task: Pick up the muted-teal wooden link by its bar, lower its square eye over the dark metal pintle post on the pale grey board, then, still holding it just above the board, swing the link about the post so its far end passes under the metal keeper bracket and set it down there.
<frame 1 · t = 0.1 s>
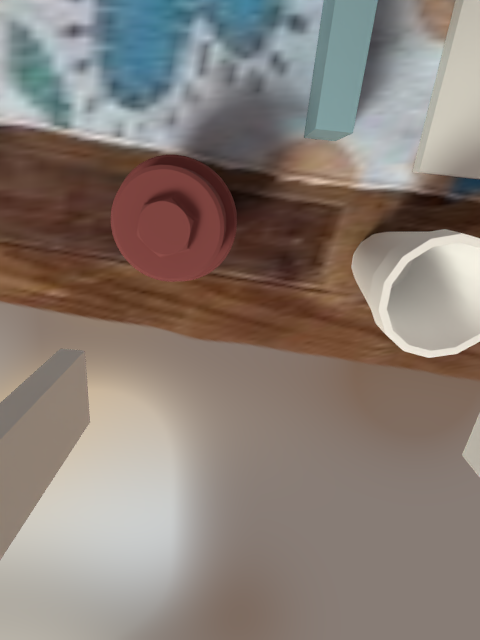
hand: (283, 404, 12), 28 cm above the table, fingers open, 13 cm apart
link: (319, 139, 34), on the table
foam cup: (380, 261, 38), on the table
mechanical component: (190, 213, 37), on the table
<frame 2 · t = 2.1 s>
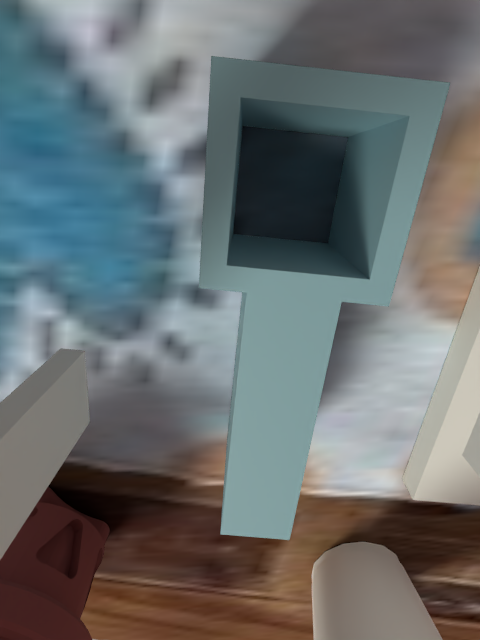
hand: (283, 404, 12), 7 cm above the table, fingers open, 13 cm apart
link: (252, 440, 21), on the table
foam cup: (355, 568, 25), on the table
mechanical component: (62, 516, 24), on the table
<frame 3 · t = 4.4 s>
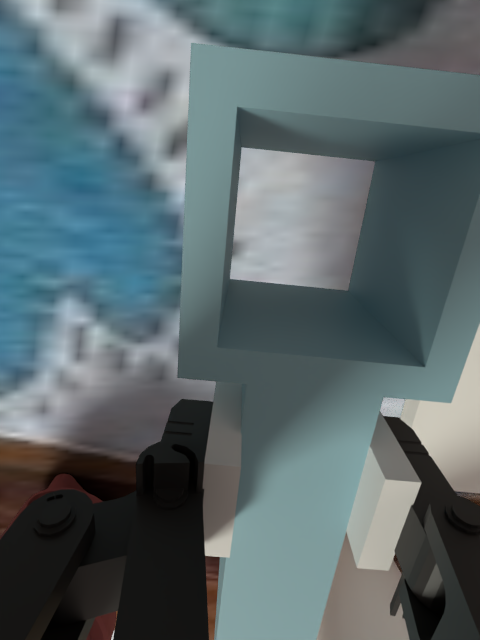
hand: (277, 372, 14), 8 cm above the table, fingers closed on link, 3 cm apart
link: (253, 520, 17), point 7 cm above the table, touching gripper
foam cup: (346, 556, 28), on the table
mechanical component: (82, 504, 27), on the table
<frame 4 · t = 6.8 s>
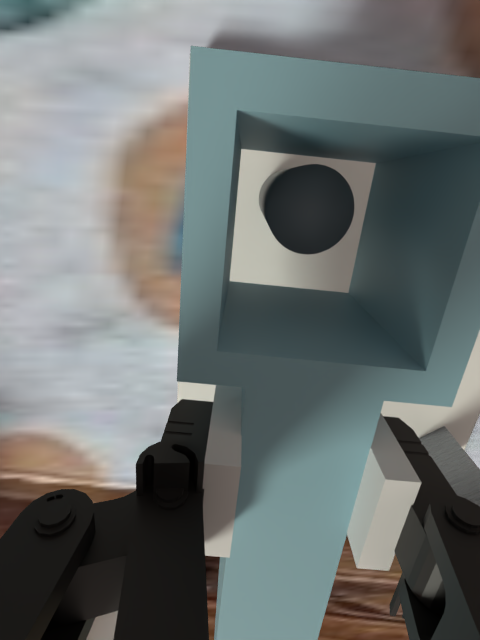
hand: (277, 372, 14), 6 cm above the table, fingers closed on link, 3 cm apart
board: (337, 327, 20), on the table
keeper: (409, 406, 22), resting on board
link: (253, 522, 17), point 6 cm above the table, touching gripper
foam cup: (163, 558, 27), on the table
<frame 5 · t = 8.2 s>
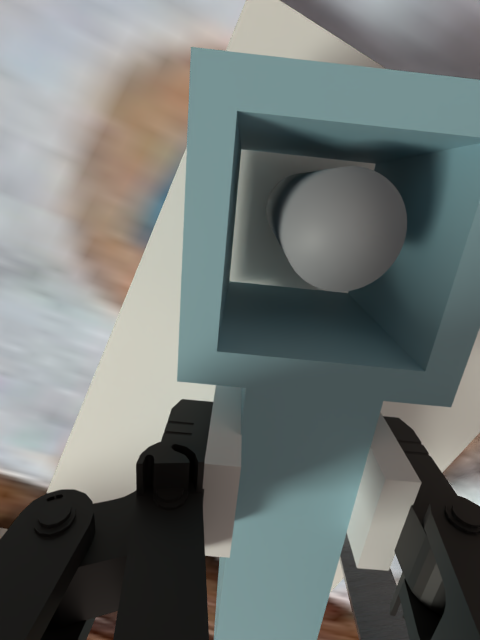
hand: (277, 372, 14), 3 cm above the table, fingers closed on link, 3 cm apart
board: (298, 371, 17), on the table
keeper: (339, 477, 20), resting on board
link: (253, 522, 17), point 3 cm above the table, touching gripper
when the fingers open (3 cm above the table, at t = 9.3 s): link stays where it is, resting on board.
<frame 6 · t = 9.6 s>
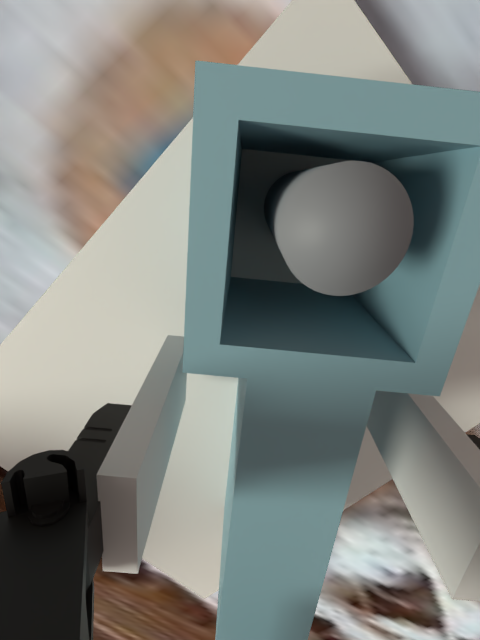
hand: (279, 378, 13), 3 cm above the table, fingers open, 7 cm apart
board: (244, 370, 17), on the table
link: (254, 509, 18), point 1 cm above the table, touching board
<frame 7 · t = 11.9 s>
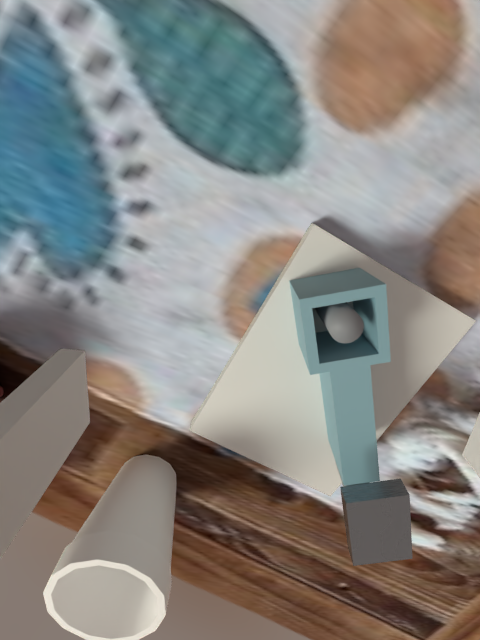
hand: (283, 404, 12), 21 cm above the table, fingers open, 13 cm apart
board: (320, 371, 35), on the table
keeper: (338, 429, 37), resting on board
link: (343, 437, 36), point 1 cm above the table, touching board
foam cup: (149, 476, 40), on the table
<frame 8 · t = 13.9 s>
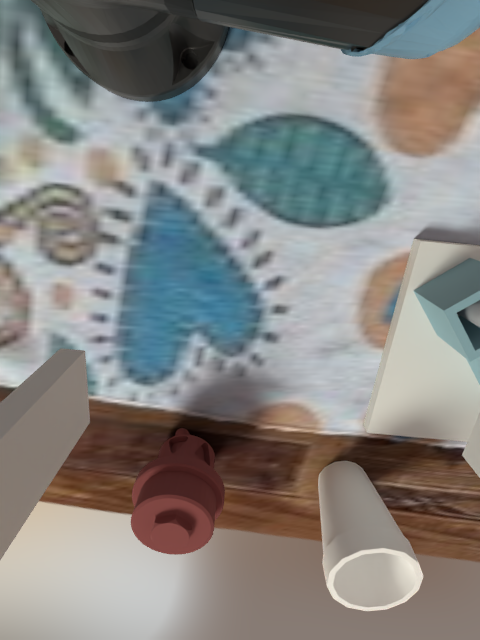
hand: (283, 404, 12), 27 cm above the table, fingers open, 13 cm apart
board: (459, 348, 40), on the table
foam cup: (341, 478, 48), on the table
mechanical component: (189, 446, 46), on the table
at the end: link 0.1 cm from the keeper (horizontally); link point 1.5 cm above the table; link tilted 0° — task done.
